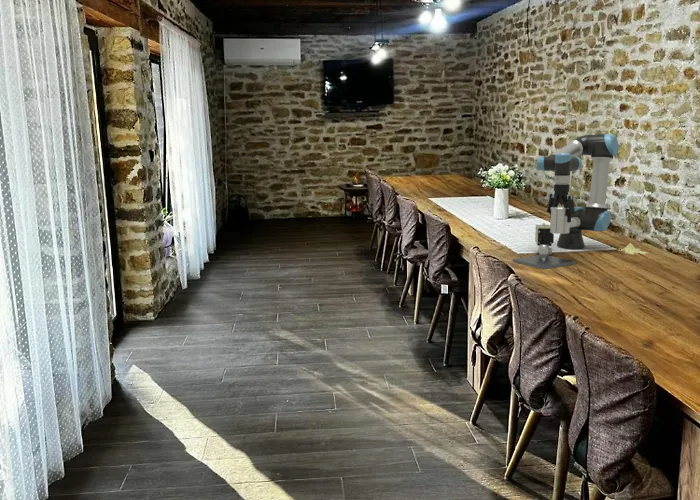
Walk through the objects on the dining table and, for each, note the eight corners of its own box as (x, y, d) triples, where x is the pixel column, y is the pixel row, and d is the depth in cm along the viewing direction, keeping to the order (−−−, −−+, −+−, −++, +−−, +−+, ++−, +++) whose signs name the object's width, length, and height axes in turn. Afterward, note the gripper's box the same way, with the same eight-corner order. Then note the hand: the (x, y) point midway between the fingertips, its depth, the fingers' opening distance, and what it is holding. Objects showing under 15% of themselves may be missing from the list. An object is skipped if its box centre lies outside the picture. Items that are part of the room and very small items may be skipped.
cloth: (604, 251, 354) (605, 240, 353) (635, 249, 355) (636, 239, 354) (623, 258, 333) (624, 247, 331) (656, 257, 334) (657, 246, 332)
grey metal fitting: (560, 234, 308) (561, 208, 305) (545, 231, 316) (546, 207, 314) (583, 231, 315) (585, 206, 313) (568, 229, 324) (570, 205, 322)
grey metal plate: (544, 257, 330) (544, 239, 328) (575, 264, 311) (576, 245, 309) (512, 261, 321) (512, 244, 319) (542, 269, 301) (543, 250, 299)
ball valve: (554, 258, 325) (555, 225, 322) (537, 258, 327) (538, 225, 324) (550, 252, 343) (551, 221, 339) (534, 252, 344) (535, 221, 341)
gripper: (540, 183, 318) (538, 225, 322) (573, 185, 299) (571, 230, 303) (551, 182, 321) (549, 224, 325) (584, 184, 302) (581, 229, 306)
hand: (559, 227), depth 314 cm, fingers closed on grey metal fitting, 9 cm apart
